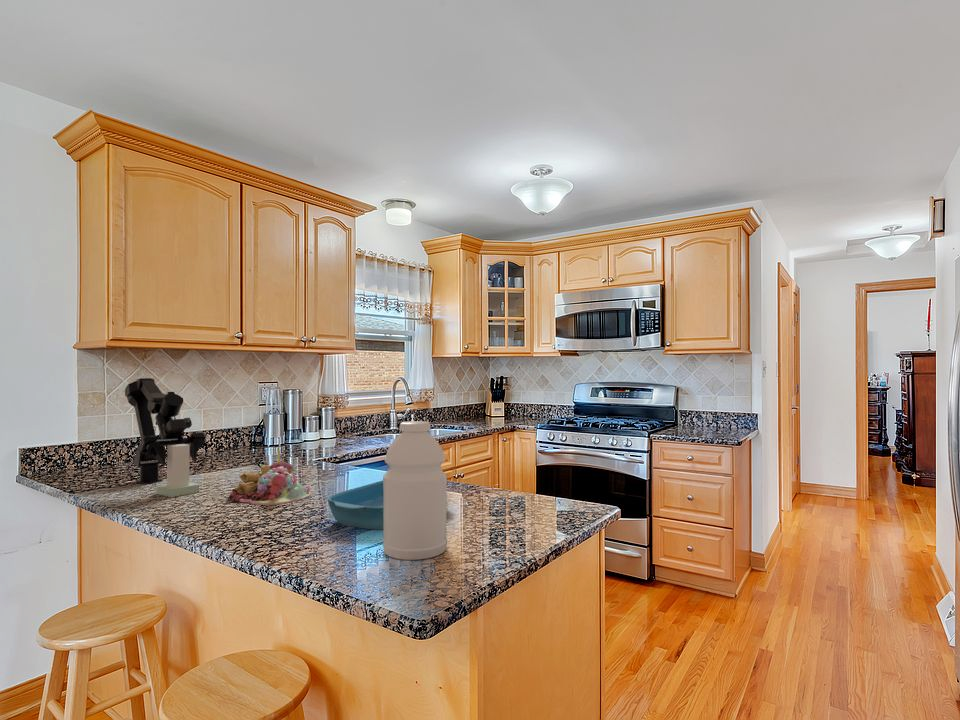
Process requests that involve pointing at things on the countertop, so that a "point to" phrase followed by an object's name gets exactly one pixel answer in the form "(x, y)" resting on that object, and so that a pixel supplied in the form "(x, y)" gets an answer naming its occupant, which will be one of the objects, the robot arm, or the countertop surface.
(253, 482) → the candy landscape model
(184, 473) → the cream block
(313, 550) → the countertop surface
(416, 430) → the bottle
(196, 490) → the trivet
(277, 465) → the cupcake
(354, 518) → the casserole dish
